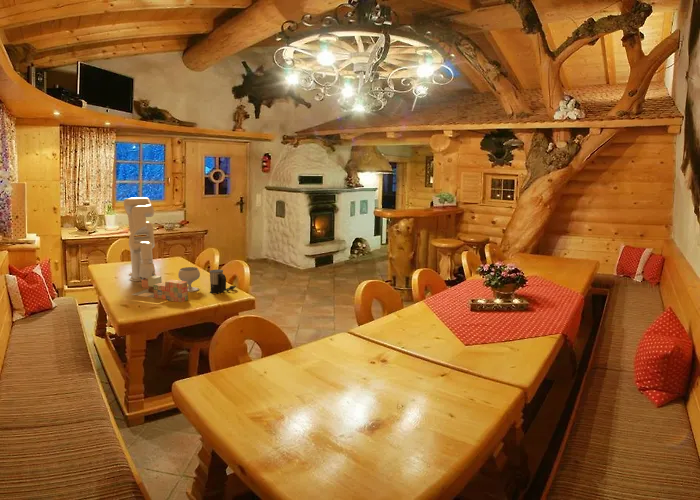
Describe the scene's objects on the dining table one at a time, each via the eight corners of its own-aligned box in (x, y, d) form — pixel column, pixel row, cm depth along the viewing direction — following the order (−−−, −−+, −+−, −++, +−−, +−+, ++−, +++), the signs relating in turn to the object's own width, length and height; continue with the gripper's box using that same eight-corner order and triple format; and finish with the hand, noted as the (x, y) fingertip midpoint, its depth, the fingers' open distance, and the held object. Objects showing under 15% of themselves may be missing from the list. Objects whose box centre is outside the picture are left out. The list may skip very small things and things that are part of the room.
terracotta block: (141, 288, 341) (141, 279, 340) (148, 286, 347) (147, 278, 346) (148, 289, 339) (148, 280, 338) (155, 287, 345) (154, 278, 344)
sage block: (148, 286, 329) (147, 277, 328) (154, 284, 334) (154, 275, 333) (155, 287, 327) (154, 278, 326) (161, 285, 332) (161, 276, 331)
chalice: (189, 286, 348) (188, 265, 345) (204, 289, 341) (204, 268, 339) (174, 291, 335) (173, 269, 332) (190, 294, 329) (189, 272, 326)
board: (130, 295, 323) (130, 294, 322) (149, 289, 338) (148, 288, 338) (152, 298, 317) (152, 297, 316) (170, 292, 332) (170, 291, 332)
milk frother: (207, 292, 333) (206, 271, 330) (222, 287, 347) (221, 266, 345) (224, 295, 327) (223, 273, 325) (238, 289, 342) (238, 269, 339)
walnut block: (148, 292, 329) (148, 286, 329) (154, 289, 335) (154, 284, 334) (155, 293, 327) (155, 287, 327) (162, 290, 333) (161, 285, 332)
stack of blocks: (154, 298, 317) (152, 280, 315) (160, 296, 323) (159, 278, 321) (182, 302, 311) (181, 283, 308) (188, 299, 317) (187, 281, 314)
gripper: (133, 261, 339) (134, 286, 342) (153, 263, 333) (154, 289, 336) (141, 259, 346) (142, 284, 349) (160, 261, 340) (162, 286, 343)
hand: (148, 286), depth 343 cm, fingers closed on terracotta block, 6 cm apart
